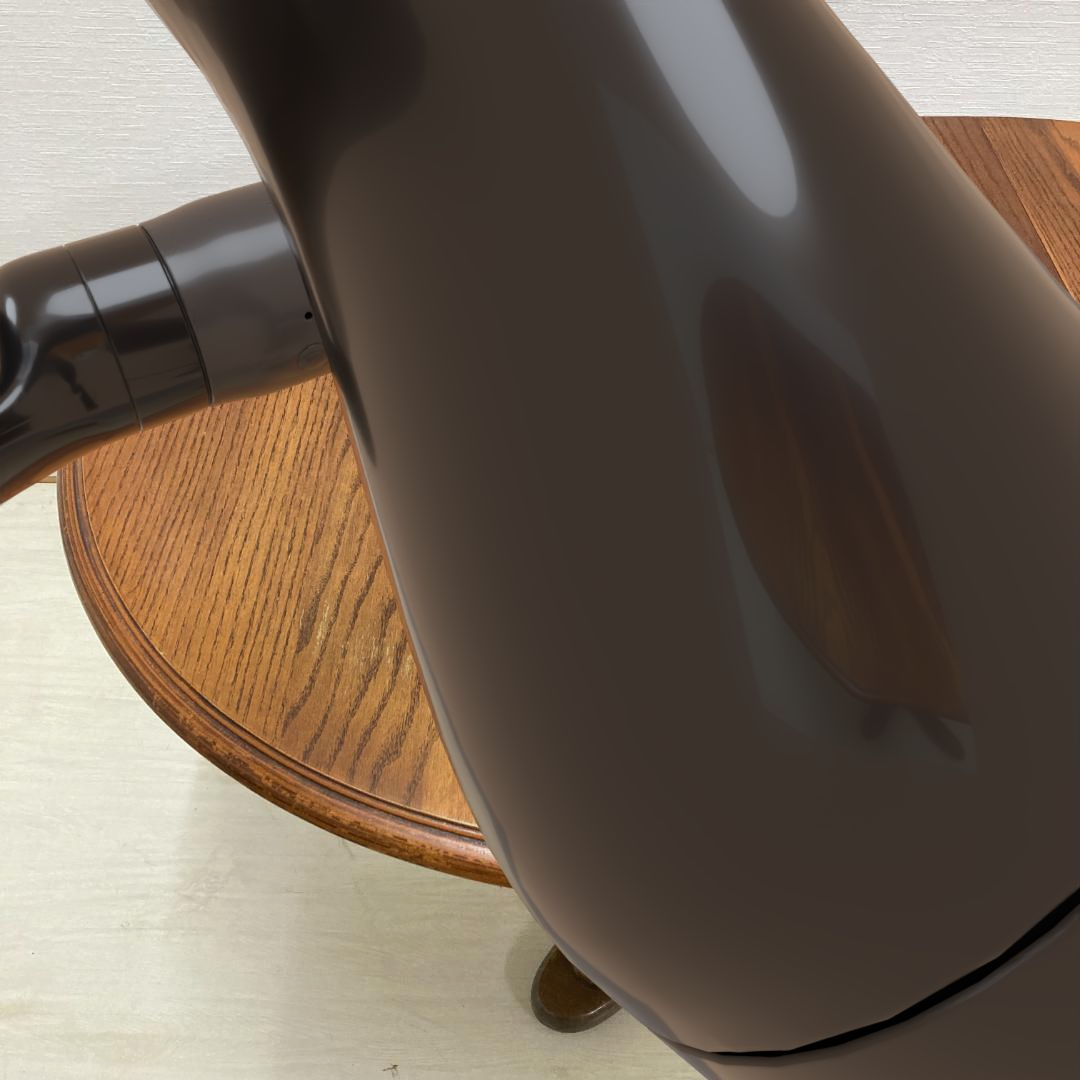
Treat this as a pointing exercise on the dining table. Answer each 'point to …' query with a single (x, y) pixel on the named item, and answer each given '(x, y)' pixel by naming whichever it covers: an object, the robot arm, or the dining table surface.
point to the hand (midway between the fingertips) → (640, 171)
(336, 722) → the dining table surface
